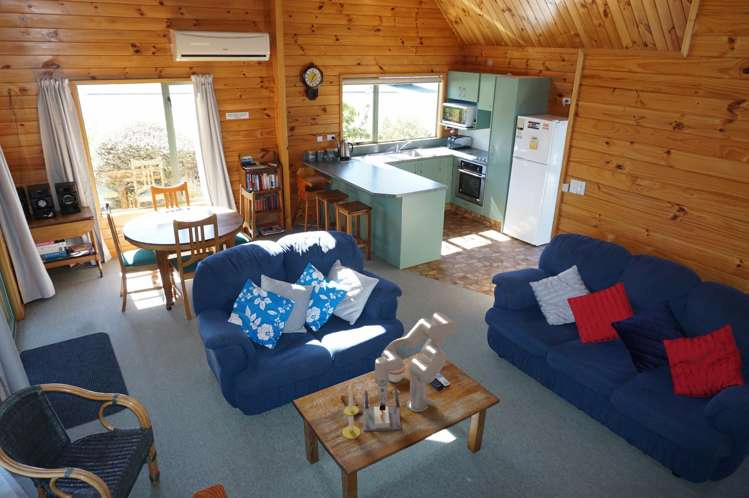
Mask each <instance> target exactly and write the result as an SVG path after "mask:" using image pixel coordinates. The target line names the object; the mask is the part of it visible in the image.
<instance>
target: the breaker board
mask: <svg viewBox="0 0 749 498" xmlns="http://www.w3.org/2000/svg"><path fill="white" fill-rule="evenodd" d="M397 392H398V395H400V390H397ZM367 393H368V396H370V391H367ZM392 394H393V396H394V397H393V408H390V409H389V406H387V405H386V410H385V411H382V415H383V419H382V420H381V418H380V409H379V406H373V409H370V408H371V405H370V403H368V409H366V408H365V391H362V395H363V396H364V399H363V401H364V403H363V409H362V410H363V414H362V417H363V419H362V421H363V432H374V431H375V432H376V431H398V430H399V431H401V430H402V426H401V418H400V416H401V415H400V413H401V412H400V409H401V408H402V403H401V402H399V406H400V407H399V408H397V406H396V398H395V390H392Z"/></svg>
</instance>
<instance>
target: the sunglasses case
mask: <svg viewBox="0 0 749 498" xmlns="http://www.w3.org/2000/svg"><path fill="white" fill-rule="evenodd" d="M340 397H341V398H340V399H341V401H342V402H343V404H344V407H345V406H347V405H349V395H342V396H340ZM353 405H355V406H357V407H358V408H359V411H358V413H357V414H355V415H353V418H356V417H359V416H363V410H364V409H363V408H362V407H361V405H360V404H359V402H358V400H357V399H356V397H355V396H353Z"/></svg>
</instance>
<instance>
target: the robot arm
mask: <svg viewBox="0 0 749 498" xmlns="http://www.w3.org/2000/svg"><path fill="white" fill-rule="evenodd" d="M457 327H458V326H457V323H456V322H455V321H454V320H453V319H451V318H449V317H448V316H446V315H445V314H443V313H442V312H438V311H435V312H434V313H433V314H432V316H431V319H429V318H427V317H422V318H420V319H418V320H417V322H416V323H415V324H414V326H412V328H411V329H410V330H409V331H408V332H407V334H405V335H404V336H403V337H399V338H397V339H395V340H392V341H391V342H390V343H389V344H388V345H387V346H386V347H385V349H383V351H382V353H381V356H380V357H378V358H376V359H375V361H374V383H375V384H376V387H377V397H378V401H379V405H380V411H385V410H386V406H387V405H386V401H388V384H389V382H390V380H389V371H396V370H399V369H401V368H402V367H403V365H405V364H404V360H403V358H401V356H399V355H398V354H397V351H398V350H400V349H401V348H404V347H410V348H416V347H418V346H419V344H420V343H421V342H422V341H423V340H424V339H425V337H426V338H428V339H426V342H425V343H424V345H423V346H422V348H421V350H420V355H422V357H423V358H425V359H426V360H427V361H428V362H427V361H426V360H424V359H423V358H421V357H418V356H416V357H412V358H411V360H410V361H409V364H408V371H409V378H410V379H409V381H410V382H409V398H408V400H407V401H406V407H407V409H409V410H410V411H411V412H415V413H421V412H425V411H426V410H427V409H428V408H429V405H434V404H435V403H434V400H432V397H427V384H430V383H432V382H433V381H434V380H435V379H436V377H437V376H438V375H439V373H440V371H441V370H442V369H443V367H444V365H445V364H446V362H447V354H446V352H445V351H444V350H443V349H442V346H443V344H444V342H445V341H446V337H450V336H452V335H453V334H455V333H456V331H457Z"/></svg>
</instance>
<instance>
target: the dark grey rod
mask: <svg viewBox="0 0 749 498" xmlns="http://www.w3.org/2000/svg"><path fill="white" fill-rule="evenodd" d="M364 394H365V408H366V409H368V407H369V395H368V391H367V390H365V391H364Z"/></svg>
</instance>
